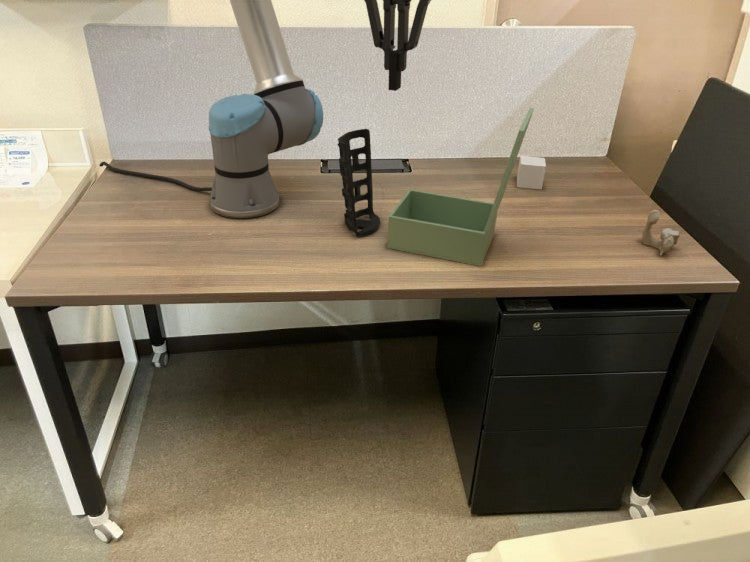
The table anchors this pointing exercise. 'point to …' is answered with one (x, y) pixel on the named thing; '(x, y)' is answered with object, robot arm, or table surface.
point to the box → (441, 227)
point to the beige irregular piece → (667, 235)
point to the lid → (509, 168)
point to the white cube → (531, 172)
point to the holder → (357, 183)
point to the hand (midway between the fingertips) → (394, 88)
